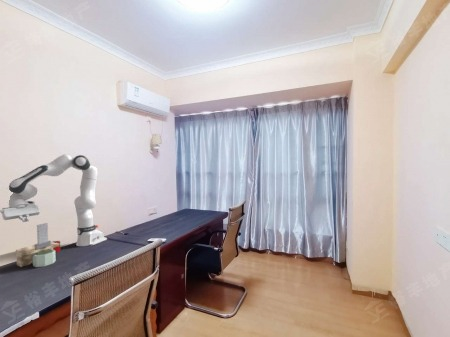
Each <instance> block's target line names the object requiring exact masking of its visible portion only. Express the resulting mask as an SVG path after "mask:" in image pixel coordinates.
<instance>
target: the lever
mask: <svg viewBox="0 0 450 337" xmlns="http://www.w3.org/2000/svg"><path fill="white" fill-rule="evenodd" d="M52 242H54V243H59V246H57V247H54V248H53V250H55V254H56V253H60V251H61V241H60V240H54V241H53V240H52Z"/></svg>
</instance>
